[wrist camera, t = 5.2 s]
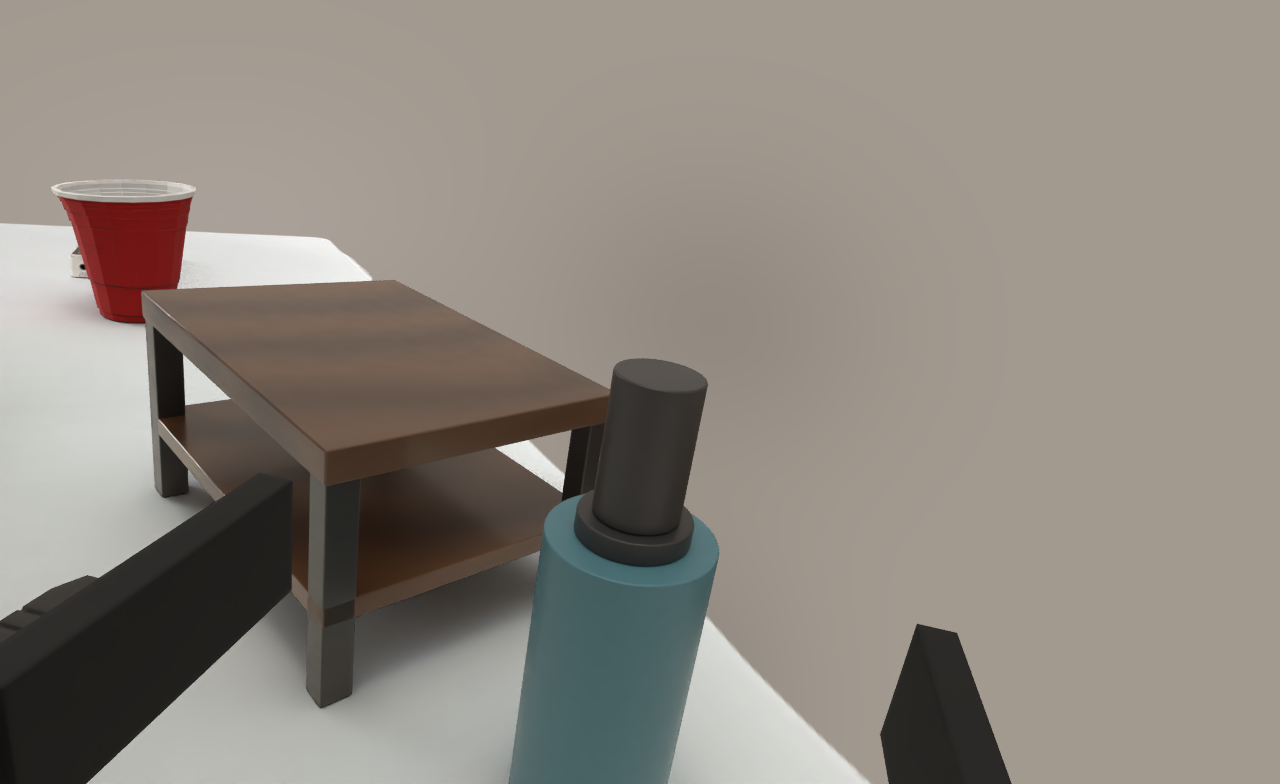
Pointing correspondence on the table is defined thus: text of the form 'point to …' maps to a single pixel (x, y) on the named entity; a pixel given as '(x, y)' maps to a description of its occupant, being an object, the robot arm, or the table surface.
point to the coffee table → (365, 437)
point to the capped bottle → (620, 596)
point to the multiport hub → (77, 264)
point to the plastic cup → (128, 238)
